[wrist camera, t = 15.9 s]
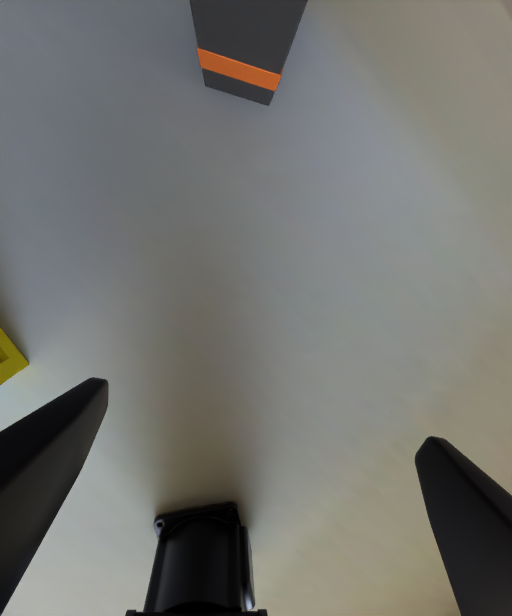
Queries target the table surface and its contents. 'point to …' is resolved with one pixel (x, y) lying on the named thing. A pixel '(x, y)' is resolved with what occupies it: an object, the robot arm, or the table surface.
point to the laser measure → (245, 43)
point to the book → (9, 358)
